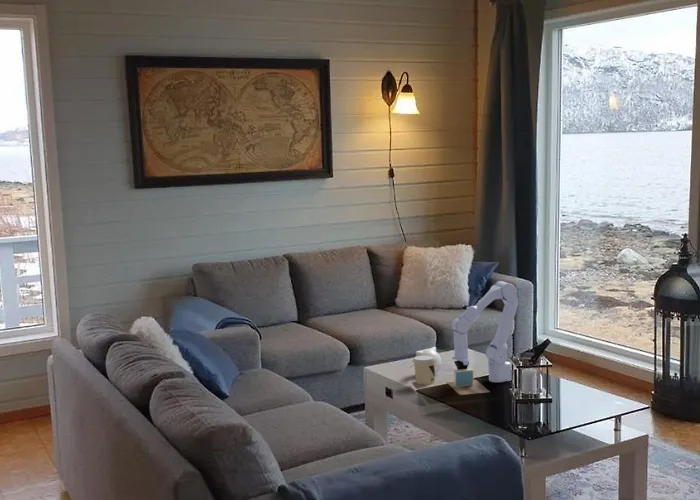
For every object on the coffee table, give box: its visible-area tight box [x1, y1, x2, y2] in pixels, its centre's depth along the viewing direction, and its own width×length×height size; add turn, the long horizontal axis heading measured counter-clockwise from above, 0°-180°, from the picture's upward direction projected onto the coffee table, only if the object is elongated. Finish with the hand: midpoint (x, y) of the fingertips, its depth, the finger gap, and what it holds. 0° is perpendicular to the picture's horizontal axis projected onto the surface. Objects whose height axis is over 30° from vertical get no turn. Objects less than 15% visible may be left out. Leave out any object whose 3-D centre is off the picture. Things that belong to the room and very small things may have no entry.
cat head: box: [409, 346, 442, 375], centre depth 360 cm, size 15×13×12 cm
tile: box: [453, 368, 474, 387], centre depth 336 cm, size 8×2×7 cm, turn 98°
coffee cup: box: [413, 355, 436, 385], centre depth 346 cm, size 9×9×12 cm
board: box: [446, 379, 491, 396], centre depth 335 cm, size 13×20×1 cm, turn 8°
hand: (462, 377), depth 339 cm, fingers closed
